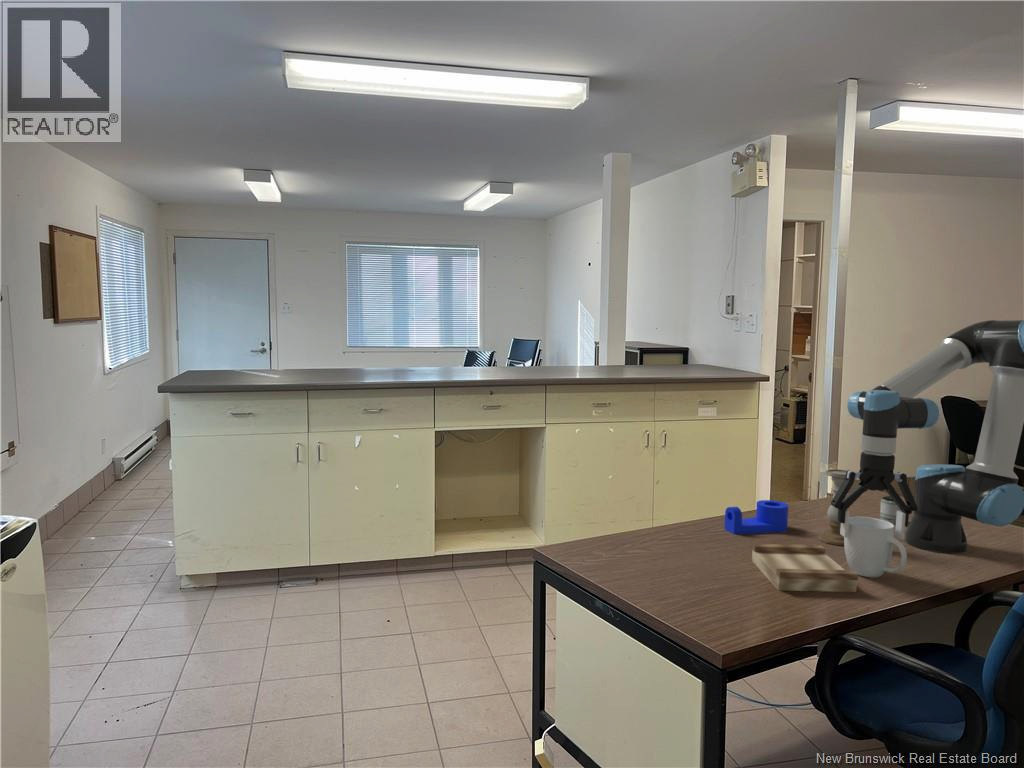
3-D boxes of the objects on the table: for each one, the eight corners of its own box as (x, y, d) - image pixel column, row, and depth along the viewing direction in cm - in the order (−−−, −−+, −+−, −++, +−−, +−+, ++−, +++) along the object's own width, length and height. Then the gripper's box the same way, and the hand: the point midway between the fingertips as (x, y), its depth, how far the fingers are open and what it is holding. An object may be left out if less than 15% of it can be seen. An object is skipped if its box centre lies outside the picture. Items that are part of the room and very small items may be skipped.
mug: (916, 580, 170) (919, 528, 169) (892, 589, 164) (895, 535, 162) (857, 562, 182) (860, 513, 181) (833, 570, 176) (836, 520, 175)
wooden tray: (820, 561, 182) (821, 545, 182) (857, 592, 162) (858, 574, 161) (751, 560, 183) (752, 543, 182) (779, 590, 162) (779, 572, 162)
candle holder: (855, 547, 194) (859, 476, 192) (820, 543, 197) (824, 473, 195) (850, 538, 203) (854, 470, 201) (818, 534, 205) (821, 467, 204)
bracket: (774, 523, 218) (775, 499, 217) (793, 531, 209) (795, 506, 209) (720, 527, 212) (721, 503, 211) (738, 536, 204) (739, 511, 203)
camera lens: (875, 519, 223) (876, 495, 222) (893, 518, 223) (895, 495, 222) (888, 525, 216) (889, 500, 216) (906, 524, 217) (908, 500, 216)
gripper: (920, 451, 174) (914, 534, 176) (820, 448, 175) (814, 530, 177) (938, 457, 167) (930, 543, 168) (833, 453, 167) (827, 539, 169)
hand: (871, 536), depth 173 cm, fingers open, 13 cm apart
